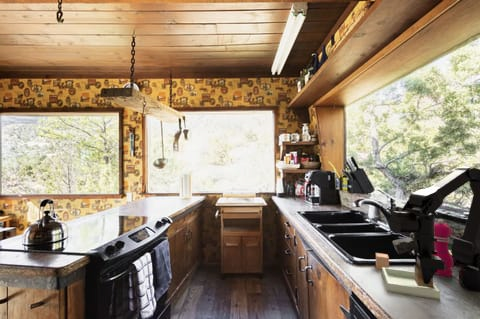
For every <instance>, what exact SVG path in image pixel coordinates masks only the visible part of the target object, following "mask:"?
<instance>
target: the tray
mask: <svg viewBox="0 0 480 319" xmlns="http://www.w3.org/2000/svg"><path fill="white" fill-rule="evenodd" d="M381 275H382V278H383V281H384V284H385V287H386V290H387V292H391V293H396V294H401V295H402V294H403V295H407V296H412V295H413V297H419V298H424V299H431V300H437V301H441V291H440V289H439V288H438V287H437V286H436V284H435V283H434V282H433V288H430V287H423V286H418V285H417V283H416V282H415V270H406V269H400V268H392V267H389V268H385V267H382V270H381Z"/></svg>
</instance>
